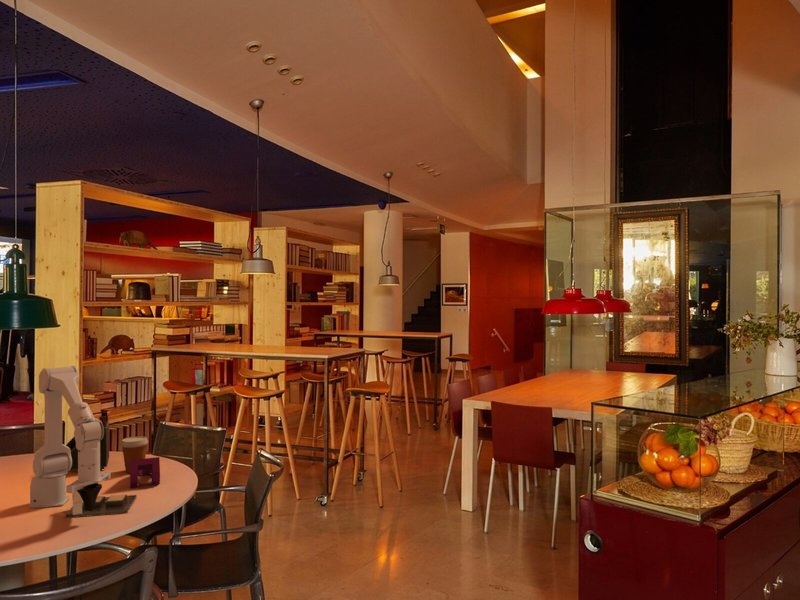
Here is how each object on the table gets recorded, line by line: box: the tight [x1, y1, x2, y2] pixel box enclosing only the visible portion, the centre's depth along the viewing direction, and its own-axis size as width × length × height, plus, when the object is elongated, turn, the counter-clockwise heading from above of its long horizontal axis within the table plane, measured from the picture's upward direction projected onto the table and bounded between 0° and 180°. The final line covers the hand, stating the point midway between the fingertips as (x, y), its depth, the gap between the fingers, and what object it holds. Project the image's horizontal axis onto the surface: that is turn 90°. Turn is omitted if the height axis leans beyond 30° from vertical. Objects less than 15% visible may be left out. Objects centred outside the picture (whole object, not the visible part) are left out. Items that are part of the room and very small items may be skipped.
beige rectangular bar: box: [71, 491, 84, 515], centre depth 182 cm, size 16×4×3 cm, turn 25°
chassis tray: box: [65, 494, 137, 518], centre depth 189 cm, size 17×14×3 cm
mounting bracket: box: [128, 456, 161, 488], centre depth 217 cm, size 9×8×18 cm
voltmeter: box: [65, 411, 110, 473], centre depth 235 cm, size 16×16×20 cm
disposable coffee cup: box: [120, 436, 149, 474], centre depth 230 cm, size 10×10×12 cm
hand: (89, 510), depth 177 cm, fingers closed
